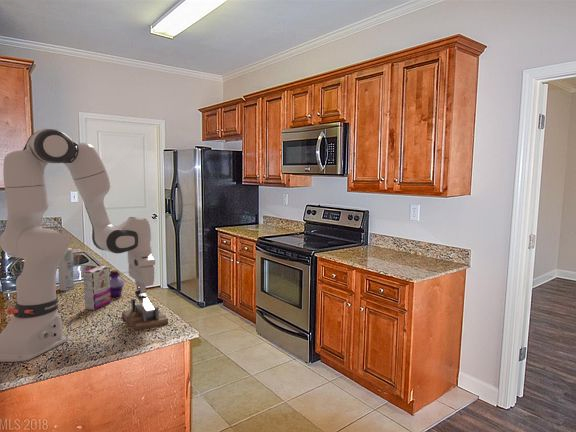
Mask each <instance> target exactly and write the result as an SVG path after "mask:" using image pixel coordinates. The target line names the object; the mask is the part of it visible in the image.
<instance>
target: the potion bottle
mask: <svg viewBox="0 0 576 432" xmlns="http://www.w3.org/2000/svg"><path fill="white" fill-rule="evenodd" d="M120 275H121V274H120V272H119V270H110V284H111V299H112V298H120V297H121V296H122V293H123V287H124V285H125V280H124V279H122V278H118V277H120Z"/></svg>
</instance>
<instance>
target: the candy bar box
mask: <svg viewBox="0 0 576 432" xmlns="http://www.w3.org/2000/svg"><path fill="white" fill-rule="evenodd" d="M110 271H111V269H110V265H99V266H96V267H93V268H91V269H88V270H84V271H83V272H82V273H83V274H82V276H83V278H82V279H83V290H84V291H83V292H84V308H85V310H88V311H89V310H91V311H97V310H98V309H100V308H102V307H104V306H107V305H108V304H110V303H112V298H111V284H110V280H111V277H110Z"/></svg>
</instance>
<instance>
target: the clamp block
mask: <svg viewBox="0 0 576 432" xmlns="http://www.w3.org/2000/svg"><path fill="white" fill-rule="evenodd" d="M153 307H154V311H151V312H146V310H145V309H144V308H143V306H142V305H141V303H139V304H136V299H135V298H131V299H130V308H131V309H130V310H131V311H132V312H135V313H137V314H138V315H139V316H140V317H141V318H142V322H144V323H145V322H146V320H150V319H155V320H159V312H160V311H159V306H153Z"/></svg>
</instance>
